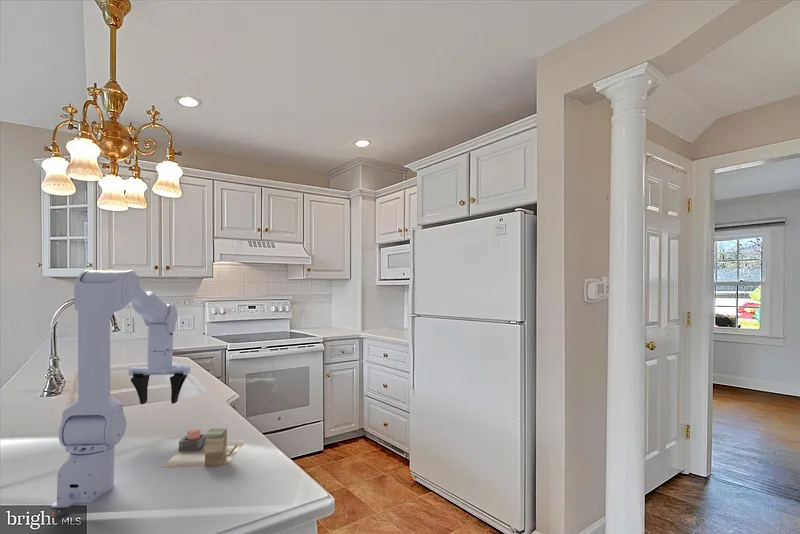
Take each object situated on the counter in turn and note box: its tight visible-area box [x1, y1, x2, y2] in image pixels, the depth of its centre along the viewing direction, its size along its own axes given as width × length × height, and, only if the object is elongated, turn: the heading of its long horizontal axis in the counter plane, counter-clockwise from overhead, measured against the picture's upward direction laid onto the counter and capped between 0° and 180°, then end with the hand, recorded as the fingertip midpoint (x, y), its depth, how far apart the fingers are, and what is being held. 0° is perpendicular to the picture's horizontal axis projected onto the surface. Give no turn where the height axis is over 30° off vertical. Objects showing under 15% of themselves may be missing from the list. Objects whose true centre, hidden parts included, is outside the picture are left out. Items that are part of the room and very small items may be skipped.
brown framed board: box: [161, 433, 246, 468], centre depth 104 cm, size 18×16×3 cm
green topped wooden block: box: [204, 427, 228, 467], centre depth 98 cm, size 4×4×7 cm
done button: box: [186, 428, 201, 440], centre depth 108 cm, size 3×3×3 cm
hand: (159, 402), depth 114 cm, fingers open, 7 cm apart
